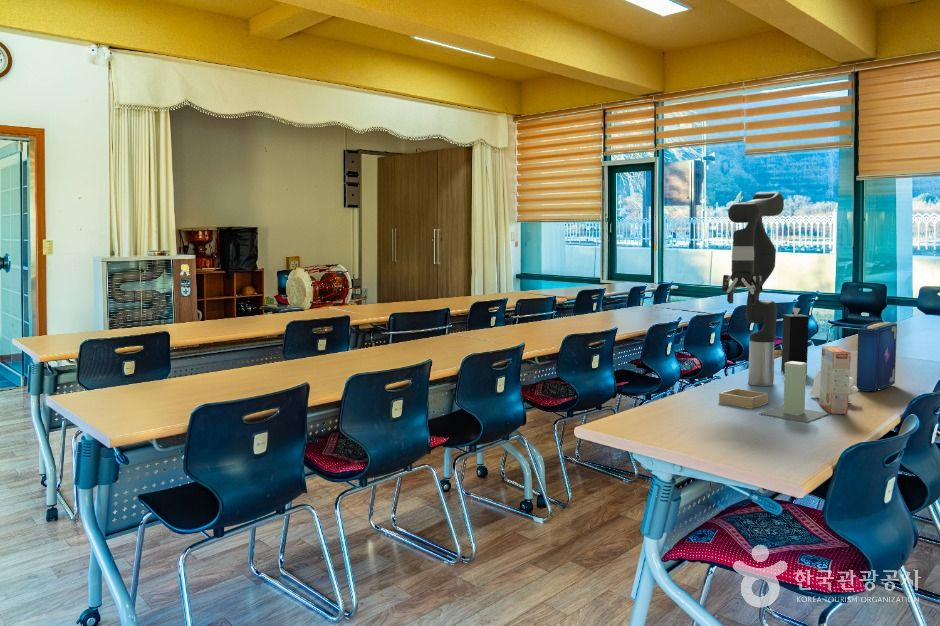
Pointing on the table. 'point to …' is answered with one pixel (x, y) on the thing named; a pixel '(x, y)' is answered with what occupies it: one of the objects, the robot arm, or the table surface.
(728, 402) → the wooden square frame
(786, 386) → the tea tin
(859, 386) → the book
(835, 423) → the table surface
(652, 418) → the table surface
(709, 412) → the table surface
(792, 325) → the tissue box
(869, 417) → the table surface
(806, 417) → the mat
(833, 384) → the cracker box
